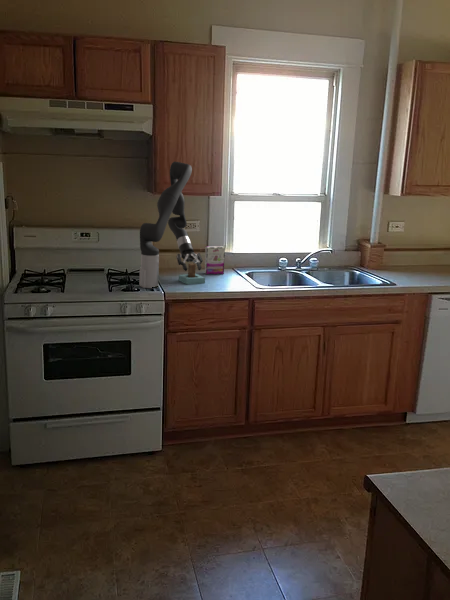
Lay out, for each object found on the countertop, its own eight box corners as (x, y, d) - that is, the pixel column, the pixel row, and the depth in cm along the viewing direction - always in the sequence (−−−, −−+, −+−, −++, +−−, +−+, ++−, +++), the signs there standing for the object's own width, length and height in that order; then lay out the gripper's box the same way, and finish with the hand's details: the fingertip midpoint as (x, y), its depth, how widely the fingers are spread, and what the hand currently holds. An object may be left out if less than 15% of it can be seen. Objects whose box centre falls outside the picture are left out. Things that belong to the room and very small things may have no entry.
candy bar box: (221, 272, 345) (223, 246, 341) (224, 274, 341) (225, 247, 337) (204, 272, 342) (205, 245, 338) (205, 274, 338) (207, 247, 334)
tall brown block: (189, 282, 314) (190, 264, 312) (187, 281, 317) (188, 263, 314) (194, 282, 316) (195, 264, 313) (192, 280, 318) (193, 263, 316)
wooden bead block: (186, 284, 309) (187, 278, 308) (178, 280, 318) (178, 274, 317) (204, 283, 314) (205, 277, 313) (196, 279, 323) (196, 273, 323)
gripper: (175, 242, 314) (183, 266, 307) (198, 241, 321) (207, 265, 314) (171, 250, 320) (179, 274, 313) (194, 249, 326) (202, 273, 319)
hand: (193, 269), depth 313 cm, fingers open, 8 cm apart
